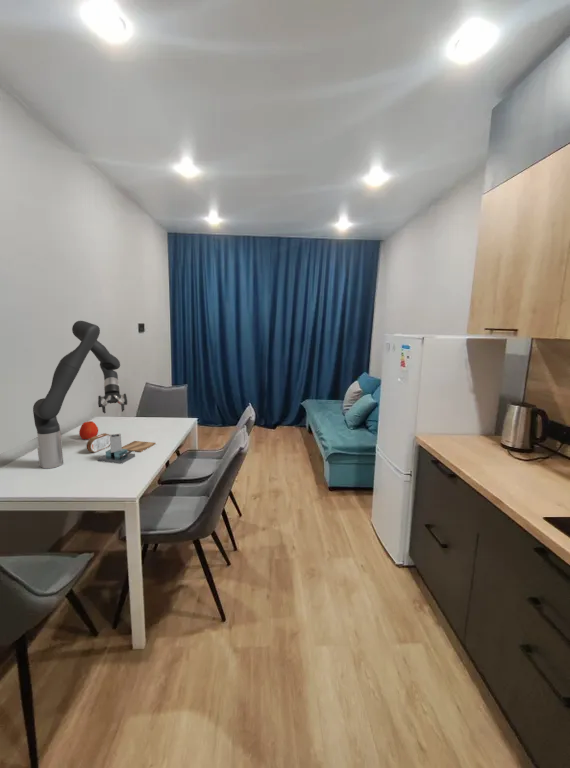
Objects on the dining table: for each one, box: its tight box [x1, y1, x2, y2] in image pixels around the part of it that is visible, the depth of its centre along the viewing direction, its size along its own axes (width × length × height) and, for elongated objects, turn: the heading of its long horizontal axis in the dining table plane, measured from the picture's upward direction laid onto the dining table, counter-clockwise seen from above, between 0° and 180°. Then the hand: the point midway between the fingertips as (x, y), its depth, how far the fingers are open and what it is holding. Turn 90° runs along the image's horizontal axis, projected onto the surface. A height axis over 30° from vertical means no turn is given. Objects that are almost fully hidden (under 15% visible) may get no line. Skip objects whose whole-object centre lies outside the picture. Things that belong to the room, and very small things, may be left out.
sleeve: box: [109, 433, 123, 453], centre depth 179 cm, size 5×5×8 cm
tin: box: [86, 432, 111, 453], centre depth 193 cm, size 15×3×8 cm, turn 160°
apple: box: [78, 420, 99, 440], centre depth 213 cm, size 10×10×10 cm
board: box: [122, 440, 156, 453], centre depth 198 cm, size 14×14×1 cm
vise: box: [97, 448, 136, 464], centre depth 180 cm, size 14×10×11 cm
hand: (113, 411), depth 187 cm, fingers open, 8 cm apart
